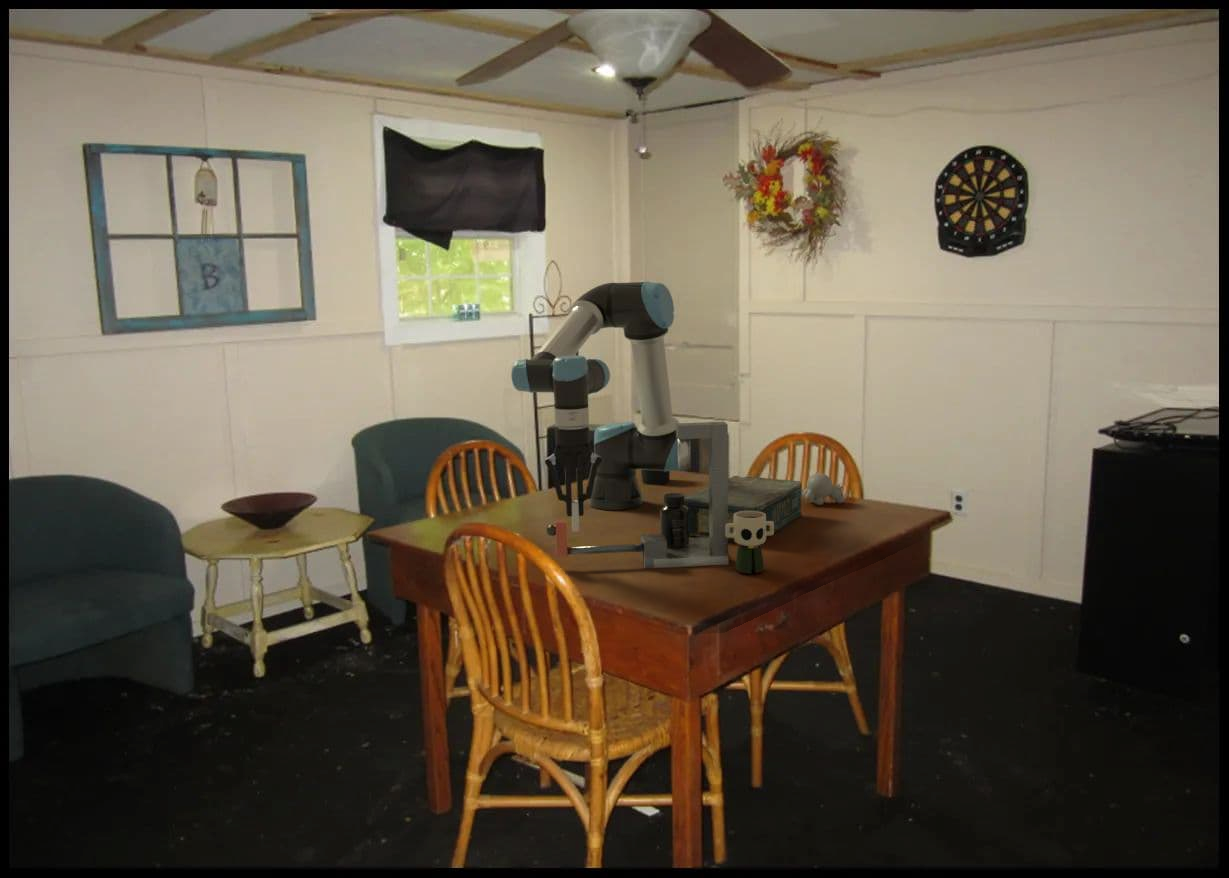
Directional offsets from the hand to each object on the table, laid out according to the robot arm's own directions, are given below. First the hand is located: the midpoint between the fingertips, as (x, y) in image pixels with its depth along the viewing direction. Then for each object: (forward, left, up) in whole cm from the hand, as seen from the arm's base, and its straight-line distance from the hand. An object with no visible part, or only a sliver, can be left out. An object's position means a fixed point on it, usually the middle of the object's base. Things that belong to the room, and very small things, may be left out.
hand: (575, 529), depth 224 cm
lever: (0, +6, -6) cm, 8 cm away
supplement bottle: (-8, +24, -7) cm, 26 cm away
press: (-5, +26, -9) cm, 28 cm away
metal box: (-29, +45, -9) cm, 55 cm away
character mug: (+9, +38, -9) cm, 40 cm away
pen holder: (-86, +30, -9) cm, 91 cm away
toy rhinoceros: (-48, +72, -9) cm, 88 cm away
